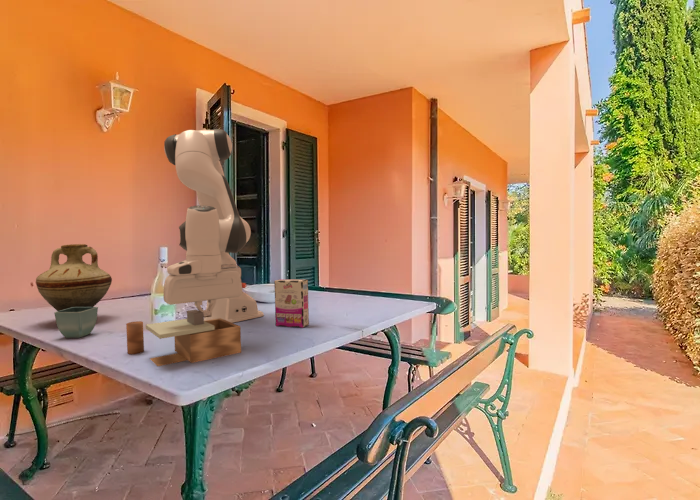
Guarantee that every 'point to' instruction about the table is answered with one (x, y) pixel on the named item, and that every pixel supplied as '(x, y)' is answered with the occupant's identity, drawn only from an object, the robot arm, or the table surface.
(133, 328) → the brown wooden cylinder
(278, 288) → the candy bar box
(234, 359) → the table surface
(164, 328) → the lid
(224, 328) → the crate
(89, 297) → the amphora
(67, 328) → the flower pot
